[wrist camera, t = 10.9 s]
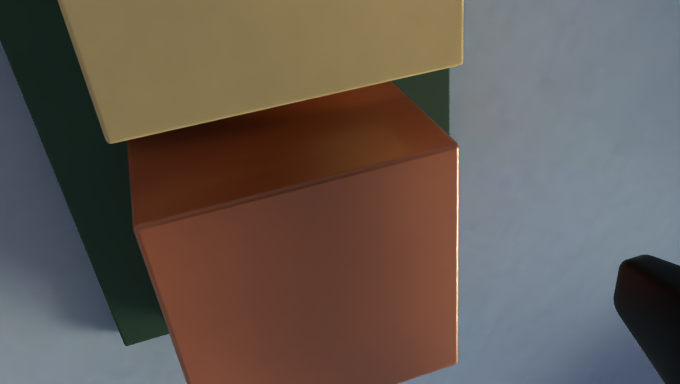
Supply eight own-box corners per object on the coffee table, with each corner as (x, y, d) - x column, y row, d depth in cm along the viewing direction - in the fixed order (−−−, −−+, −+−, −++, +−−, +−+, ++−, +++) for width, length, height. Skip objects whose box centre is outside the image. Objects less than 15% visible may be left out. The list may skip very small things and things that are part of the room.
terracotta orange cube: (188, 320, 14) (208, 449, 11) (125, 124, 11) (131, 228, 9) (393, 261, 15) (459, 364, 12) (379, 67, 12) (461, 143, 10)
